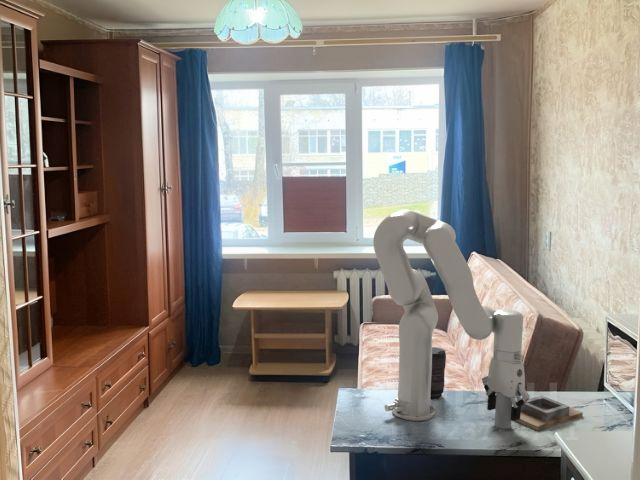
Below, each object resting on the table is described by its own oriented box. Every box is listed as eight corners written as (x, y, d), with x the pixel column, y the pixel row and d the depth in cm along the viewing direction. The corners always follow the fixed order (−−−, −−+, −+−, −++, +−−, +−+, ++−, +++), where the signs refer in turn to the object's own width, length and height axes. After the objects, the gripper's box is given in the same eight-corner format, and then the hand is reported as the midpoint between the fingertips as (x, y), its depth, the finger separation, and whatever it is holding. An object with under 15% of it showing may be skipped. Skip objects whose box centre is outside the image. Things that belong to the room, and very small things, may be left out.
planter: (511, 430, 190) (513, 394, 189) (494, 428, 191) (497, 393, 190) (510, 423, 195) (512, 389, 193) (494, 422, 195) (496, 387, 194)
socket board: (536, 430, 190) (537, 417, 190) (504, 415, 200) (504, 403, 200) (582, 416, 201) (583, 404, 200) (549, 403, 211) (550, 391, 210)
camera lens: (448, 394, 216) (450, 349, 214) (438, 402, 210) (440, 355, 208) (424, 389, 221) (426, 344, 219) (414, 396, 214) (415, 350, 212)
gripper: (541, 361, 185) (537, 422, 187) (493, 344, 199) (490, 402, 202) (522, 365, 181) (518, 428, 183) (474, 348, 195) (471, 406, 198)
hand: (503, 414), depth 192 cm, fingers open, 8 cm apart
